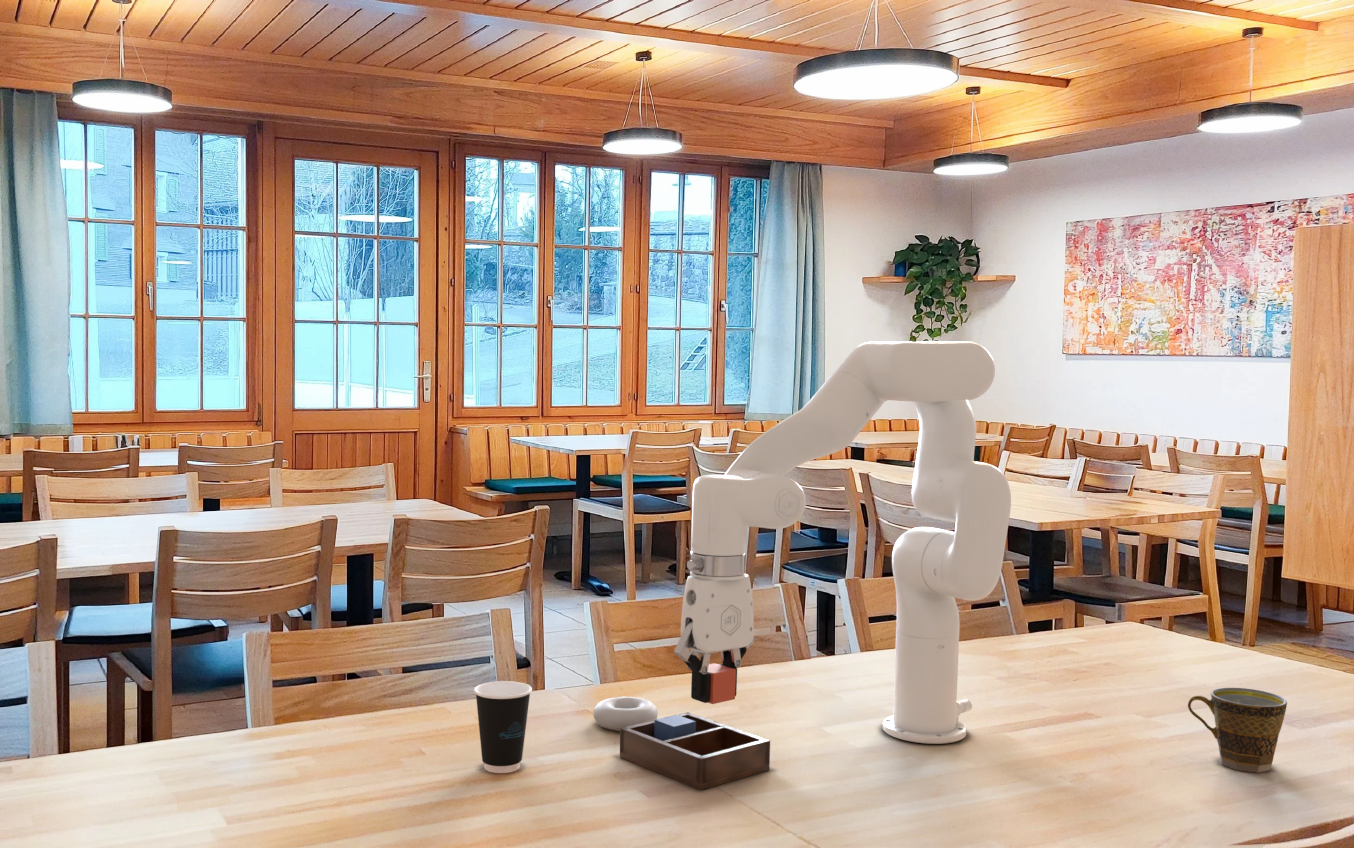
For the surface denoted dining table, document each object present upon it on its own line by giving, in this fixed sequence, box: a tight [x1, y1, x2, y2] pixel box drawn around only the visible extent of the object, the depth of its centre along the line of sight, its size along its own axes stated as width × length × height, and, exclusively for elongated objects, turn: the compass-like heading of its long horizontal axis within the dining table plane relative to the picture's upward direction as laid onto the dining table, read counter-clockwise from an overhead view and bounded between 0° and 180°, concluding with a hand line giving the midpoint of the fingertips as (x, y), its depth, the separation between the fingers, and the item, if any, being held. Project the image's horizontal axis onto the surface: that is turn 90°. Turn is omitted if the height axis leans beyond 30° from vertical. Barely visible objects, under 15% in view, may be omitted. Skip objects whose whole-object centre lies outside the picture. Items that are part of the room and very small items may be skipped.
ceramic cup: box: [1187, 687, 1288, 773], centre depth 180 cm, size 13×10×10 cm
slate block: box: [654, 714, 696, 741], centre depth 177 cm, size 4×4×4 cm
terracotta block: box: [707, 662, 736, 705], centre depth 171 cm, size 4×4×4 cm
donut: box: [592, 696, 659, 732], centre depth 192 cm, size 10×4×10 cm
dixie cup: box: [473, 680, 533, 774], centre depth 171 cm, size 8×8×11 cm
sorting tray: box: [619, 711, 771, 791], centre depth 174 cm, size 13×17×4 cm
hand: (713, 696), depth 171 cm, fingers closed on terracotta block, 4 cm apart
